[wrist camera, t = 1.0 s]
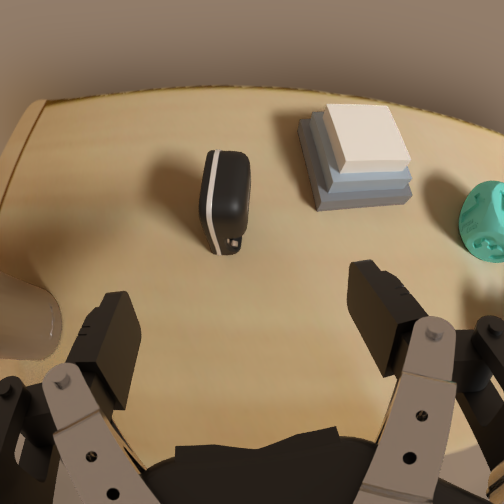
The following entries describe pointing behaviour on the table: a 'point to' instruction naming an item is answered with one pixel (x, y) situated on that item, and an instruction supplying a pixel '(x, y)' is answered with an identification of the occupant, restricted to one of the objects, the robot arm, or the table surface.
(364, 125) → the block tower
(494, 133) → the table surface
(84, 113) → the table surface
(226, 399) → the table surface
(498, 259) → the decorative dice
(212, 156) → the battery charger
